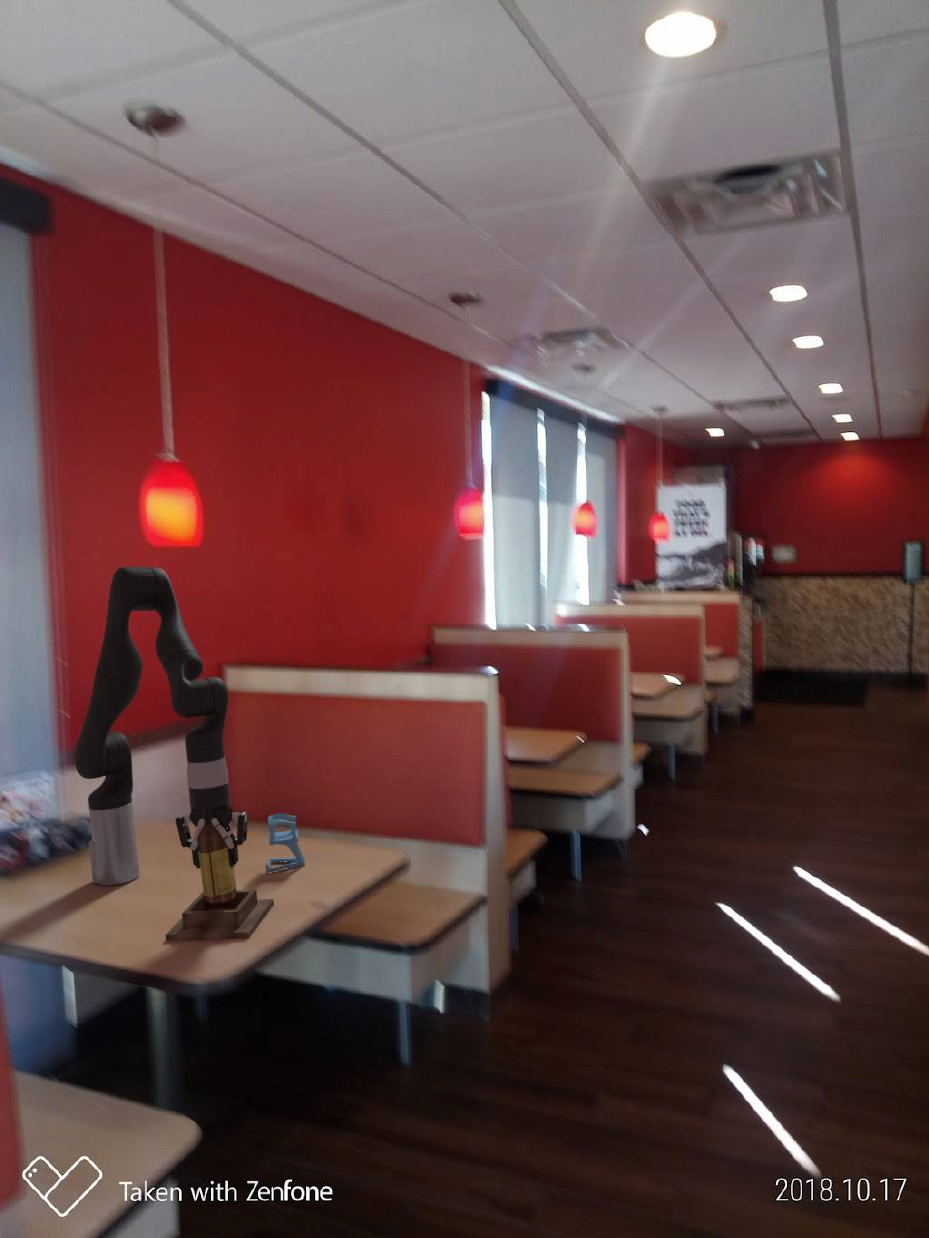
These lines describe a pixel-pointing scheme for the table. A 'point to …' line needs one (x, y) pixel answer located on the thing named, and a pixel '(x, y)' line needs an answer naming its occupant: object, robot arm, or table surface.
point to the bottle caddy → (221, 918)
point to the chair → (284, 841)
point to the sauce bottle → (215, 863)
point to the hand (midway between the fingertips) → (216, 866)
